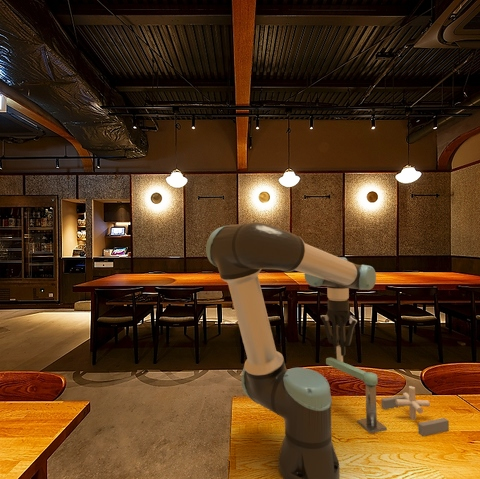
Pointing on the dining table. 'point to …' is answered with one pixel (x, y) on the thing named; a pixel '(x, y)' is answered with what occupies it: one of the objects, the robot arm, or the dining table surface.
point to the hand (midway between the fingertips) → (340, 363)
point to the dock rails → (423, 427)
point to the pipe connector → (412, 402)
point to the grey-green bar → (353, 371)
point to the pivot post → (371, 412)
